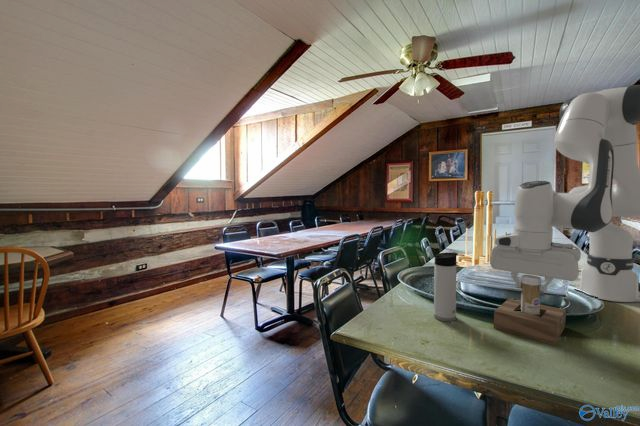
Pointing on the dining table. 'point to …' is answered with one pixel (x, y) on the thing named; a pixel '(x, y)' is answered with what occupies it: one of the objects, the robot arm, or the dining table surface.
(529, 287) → the sprinkles bottle
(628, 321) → the dining table surface
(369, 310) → the dining table surface
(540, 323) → the walnut socket block
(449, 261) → the travel mug
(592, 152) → the robot arm
